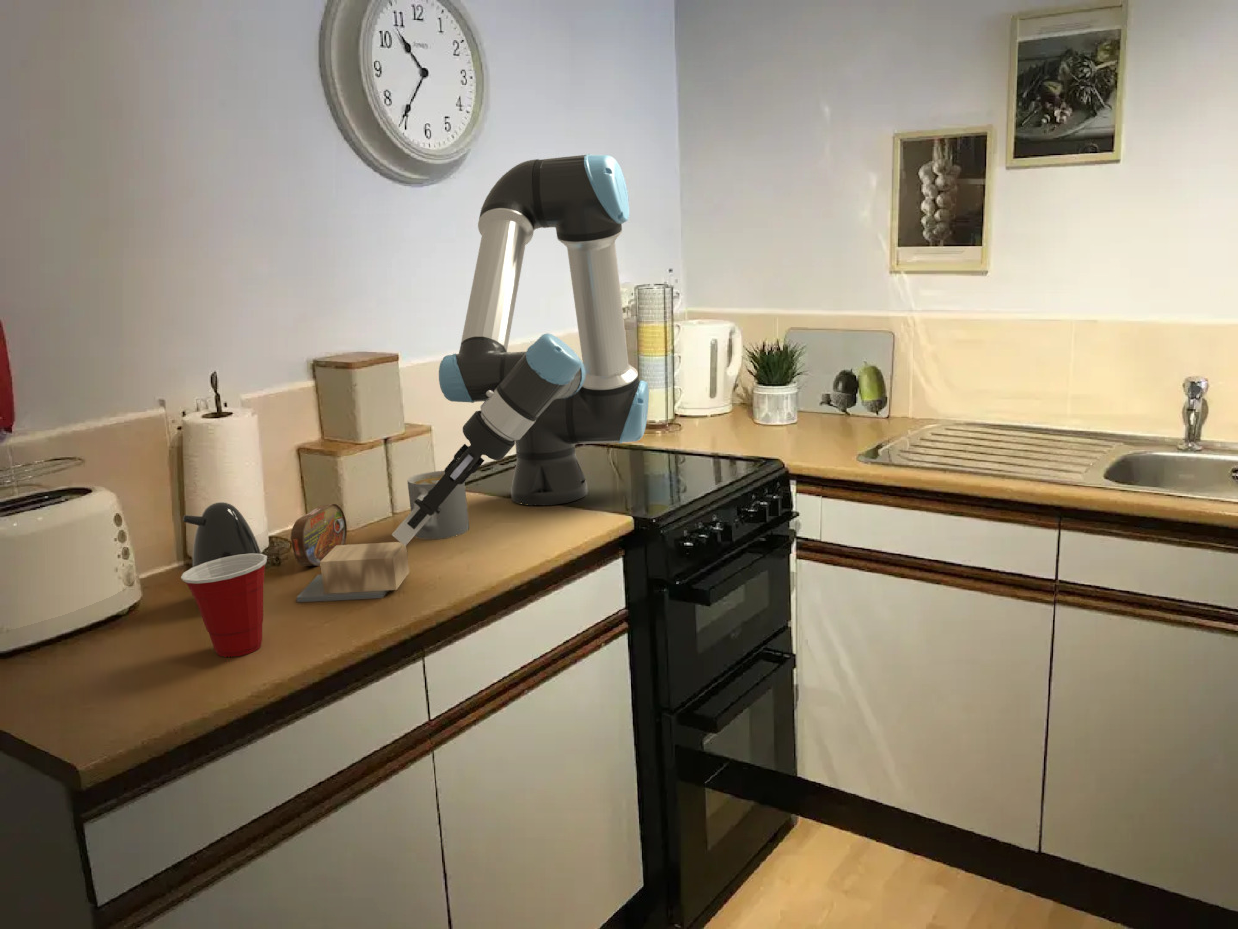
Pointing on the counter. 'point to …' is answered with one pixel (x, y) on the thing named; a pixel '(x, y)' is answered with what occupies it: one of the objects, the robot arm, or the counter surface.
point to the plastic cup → (230, 601)
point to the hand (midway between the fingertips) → (399, 538)
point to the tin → (318, 534)
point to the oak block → (364, 567)
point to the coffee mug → (452, 509)
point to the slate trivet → (317, 593)
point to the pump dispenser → (221, 534)
